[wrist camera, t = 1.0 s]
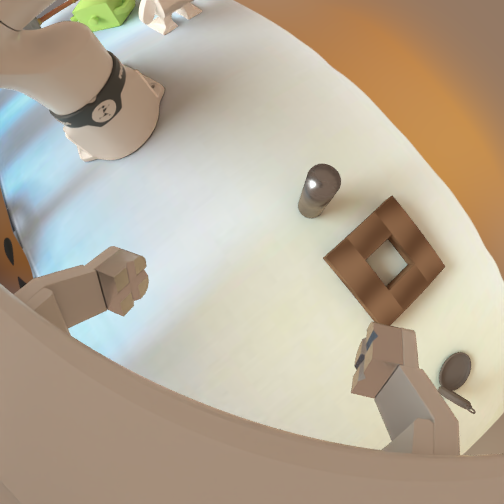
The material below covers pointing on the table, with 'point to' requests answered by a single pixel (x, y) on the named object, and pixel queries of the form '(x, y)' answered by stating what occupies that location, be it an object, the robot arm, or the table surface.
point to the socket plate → (362, 275)
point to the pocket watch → (455, 378)
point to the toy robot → (165, 13)
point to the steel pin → (318, 190)
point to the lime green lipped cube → (102, 13)
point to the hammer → (46, 16)
